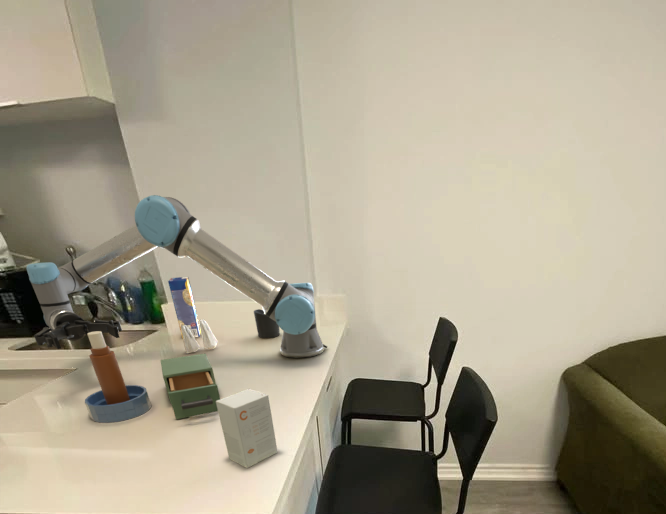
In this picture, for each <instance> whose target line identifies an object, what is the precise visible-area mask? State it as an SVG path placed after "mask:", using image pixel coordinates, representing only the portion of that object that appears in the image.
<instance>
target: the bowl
mask: <svg viewBox="0 0 666 514" xmlns="http://www.w3.org/2000/svg"><path fill="white" fill-rule="evenodd" d="M125 386H126V389H127V392H128V395H129V398H130V400H129V401H125V402H122V403H117V404H111V405H107V403H106V400H105V397H104V395H103V392H102V389H100V390H98V391H95V392H93V393H91V394H89V395H88V396H87V397H86V398H85V399H84V405H85V407H86V409H87V412H88V415H89V417H90V419H91V420H92V421H93V422H97V423H103V424H104V423H105V424H107V423H118V422H124V421H129V420H131V419H135V418H137V417H139V416H141V415H144V414H146V413H147V412H148V411H150V410H151V408H152V403H151V400H150V396H149V393H148V390H147V387H145V386H144V385H137V384H125Z"/></svg>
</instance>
